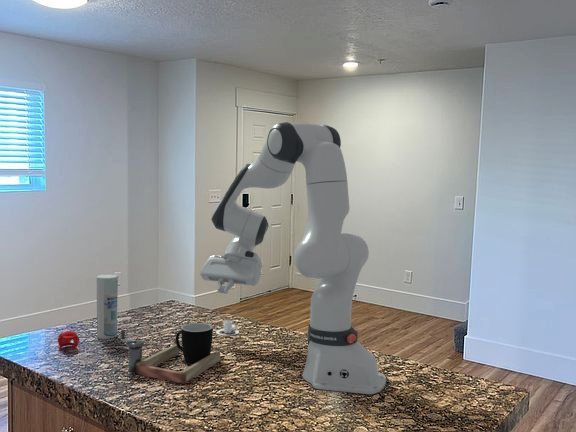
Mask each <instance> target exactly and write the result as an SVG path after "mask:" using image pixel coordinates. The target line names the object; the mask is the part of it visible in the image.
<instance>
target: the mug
mask: <svg viewBox="0 0 576 432" xmlns="http://www.w3.org/2000/svg"><path fill="white" fill-rule="evenodd" d="M180 328H181V329H180V330H179V331H177V333H176V334H175V344H176V345H177V347H178V348H179V351H181V352H182V355H183V358H184V359H183V360H184V361H185V363H186V364H189V365H191V364H192V365H193V364H195V363H197V362H198V361H200V360H202V359H203V358H205V357H207V356H209V355H210V354H211V352H212V345H213V344H212V343H213V334H214V333H213V331H214V329H213V325H211V324H209V323H205V322H191V323H186V324H183V325H182V326H181V327H180ZM180 335H181V336H180ZM180 337H181V344H180V340H179V338H180ZM192 365H191V366H192Z"/></svg>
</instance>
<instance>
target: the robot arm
mask: <svg viewBox="0 0 576 432" xmlns="http://www.w3.org/2000/svg"><path fill="white" fill-rule="evenodd" d="M341 145H342V141H341V135H340V133H339V132H338V131H337V129H336V128H334V127H333V126H330V125H327V124H316V123H309V122H304V121H303V122H301V121H300V122H297V121H296V122H287V121H285V122H281V123H280V122H279V123H276V124H274V125H273V126H272V127H271V129H269V132H268V135H267V138H266V140H265V142H264V144H263V146H262V148H261V150H260V153H259V155H258V157H257V158H256V160H255V161H253V162H252V163H247V164H245V165H244V166H243V167H242V168H241V170H240V171H239V172H238V174H237V175H236V176H235V178H234V180H233V182H232V183H231V185H230V186H229V188H228V189H227V190H226V192H225V194H224V196H223V198H222V199H221V200H220V202H218V203H217V205H216V206H215V207H214V209H213V211H212V214H211V222H212V224H213V226H214V227H215V229H217V230H220V231H223V232H226V233H228V234H231V235H232V236H231V241H230V242H229V243H228V244H227V247H226V248H225V252H224V254H223V255H215V254H214V255H211V256H209V257H207V259H206V261H205V262H204V264H203V265H202V267H201V269H200V271H199V274H200V276H201V278H202V279H203V281H210V282H217V283H218V286H217V292H218V293H219V294H225V295H226V294H228V293H229V290H231V289H232V288H234V286H235V285H236V284H237V285H245V286H253V287H255V286H257V284H259V282H260V279H261V275H262V270H261V269H263V262H262V260H261V258H260V256H259V255H258V254H257V253H256V252H254V249H255V248H256V247H257V246H259V245H260V244H262V243H263V241H264V238H265V235H266V233H267V231H268V229H269V222H268V220H267V217H266V216H264V214H261V213H259V212H257V211H254V210H251V209H249V208H247V207H244V206H242V205H239V204H238V203H236V201H237V199H238V198H239V196H240V195H241V194H242V192H243V190H245V189H249V188H256V189H257V188H259V189H276V188H279V187H281V186H283V185H284V184H286V182H287V181H288V179H290V176H291V174H292V172H293V170H294V167H295V166H296V163H297V162H298V163H300V164H302V165H303V167H304V169H305V184H306V198H307V219H306V225H305V229H304V233H303V236H302V239H301V241H300V242H299V243H298V245H297V246H296V248H295V250H294V254H293V261H294V265H295V268H296V269H297V271H298V273H300V274H301V275H302V276H303V277H306V278H309V279H318V280H319V283H318V284H317V287H316V289H314V291H313V292H312V295H311V297H310V309H309V310H310V313H309V324H308V327H307V328H308V329H307V346H308V347H307V348H308V349H307V355H306V360H305V365H304V369H303V371H302V374H301V375H302V379H304V380H305V381H306V382H308V383H309V384H311V385H312V387H313V388H314V389H316V390H323V391H334V392H343V393H353V394H365V395H374V394H377V393H379V392H381V391H382V390H383V389H384V388H385V387H386V384H387V377H386V376H385V373H382V372H380V371H379V367H378V363H377V359H376V357H375V355H374V354H373V353H371V352H370V351H369V350H368V349H367V348H366V347H364V346H363V345H362V344H361V343H360V342H359V341H358V338H359V329H355V328H354V327H353V326H352V310H353V309H352V307H353V297H354V293H355V289H356V285H357V284H358V283H357V282H358V280H359V275H360V272H361V271H362V269H363V267H364V265H365V264H366V263H367V261H368V259H369V253H370V252H369V246H368V243H366V241H365V240H364V239H363V238H362V237H361V236H359V235H356V234H352V233H347V232H344V233H342V229H343V226H344V225H343V224H344V221H345V219H346V217H347V216H348V215H349V212H350V196H349V185H348V174H347V168H346V162H345V159H344V155H343V152H342V149H341ZM225 283H227V284H226V285H225Z"/></svg>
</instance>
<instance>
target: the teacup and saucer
mask: <svg viewBox="0 0 576 432" xmlns="http://www.w3.org/2000/svg"><path fill="white" fill-rule="evenodd" d="M222 322H223V324H222V325H223V328H220V329H218V330H216V331H215V334H217V335H219V336H225V337H226V336H227V337H229V336H230V337H231V336H235V335H238V334H239V333H240V330H238V329H237V326H236V325H235V324H233V321H232V320H224V321H222ZM232 331H233V332H235V333H232ZM220 332H224V333H225V334H222V333H220ZM231 333H232V334H231Z"/></svg>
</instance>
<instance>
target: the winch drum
mask: <svg viewBox="0 0 576 432" xmlns="http://www.w3.org/2000/svg"><path fill="white" fill-rule="evenodd" d="M120 338H121V342H126V346H127V348H128V372H130V373H136V363H138V362H140V361H142V360H143V346H144V345H145V341H144V340H139V339H138V340H137V339H131V338H126V330H125V329H121V330H120Z"/></svg>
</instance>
